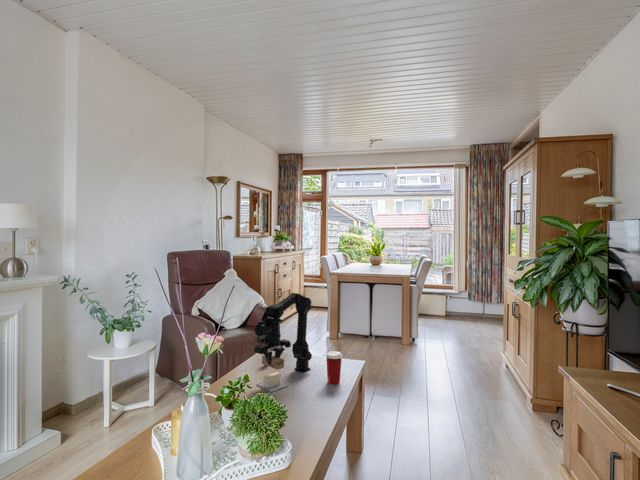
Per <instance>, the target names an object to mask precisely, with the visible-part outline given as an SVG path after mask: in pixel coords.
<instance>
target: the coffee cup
mask: <svg viewBox="0 0 640 480" xmlns="http://www.w3.org/2000/svg"><path fill="white" fill-rule="evenodd" d="M325 357H326V370H327V371H326V372H327V373H326V374H327V384H329V385H339V384H340V382H341V371H342V369H341V368H342V358H343V354H342V352H339V351H335V350H334V351H328V352H327V353H326V355H325Z"/></svg>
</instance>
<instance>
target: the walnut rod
mask: <svg viewBox="0 0 640 480" xmlns="http://www.w3.org/2000/svg"><path fill="white" fill-rule="evenodd" d="M261 355H262V357H261V358H262V359H261V364H263V365H265V366H267V367H270V368H272V369H275V370H282V369H284V368H285V359H284V358H281V357H280V358H279V357H276V356H275V355H273V354H272V358H271V364H270V365H268V363H267V360H266V357H265V355H264V354H261Z"/></svg>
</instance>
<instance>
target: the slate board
mask: <svg viewBox="0 0 640 480" xmlns="http://www.w3.org/2000/svg"><path fill="white" fill-rule="evenodd" d="M255 385H256V386H258V387H259V388H261V387H262V388H261V389H263V390H265V391H267V392H270V393H275V392H278V391H281V390H283V389H286V388H288V387H289V386H288V385H287V384H285V383H283V382H281V372H278V371H275V372H272V373H269V374H266V375H263V381H261V382H258V383H257V384H255Z"/></svg>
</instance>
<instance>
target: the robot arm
mask: <svg viewBox="0 0 640 480" xmlns="http://www.w3.org/2000/svg"><path fill="white" fill-rule="evenodd" d="M293 305H295V310H296V312H297V326H296V327H297V330H296V340H295V342H294V343H293V344H292V343H291V342H290V340H288V339H284V338H283V339H280V337H281V334H280V323H281V322H283V320H282V319H281V317H282V316H283V315H284V312H285V311H286V310H287V309H289V308H290V307H292V306H293ZM311 307H312V299H310V298H309V297H306V296H304V295H301V294H300V293H297V292H292V293H290V294H289V295H288V296H286V297H284V299H282V300H281V301H279V302H278V303H274V304H271V305H268V306H266V308H265V310H264V313H263V315H262V317H261V320H259V321H258V322H257V324H256V325H255V328H254V333H255V335H256V336H257V337H256V342H257V344H258V345H255V346H254V348H253V351H254V353H256V354H259V355H265V357H266V360H267V363H268V365H270V364H271V358H272V355H273V352H270V349H272V350H274V356H276V357H279V358H281V355H282V354H283V353H284V351H285V350H286V348H287V349H288V348H292V350H291V352H292V355H293V358H294V359H296V362H295V368H294V370H295V371H298V372H301V373H304V372H307V371H310V370H311V368H310V367H309V363H310V362H309V361H310V360H312V357H313V354H312V353H311V352H310V350H309V344H308V342H307V325H308V313H309V312H310V310H311ZM263 344H264V345H263ZM291 344H292V347H291Z"/></svg>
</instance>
